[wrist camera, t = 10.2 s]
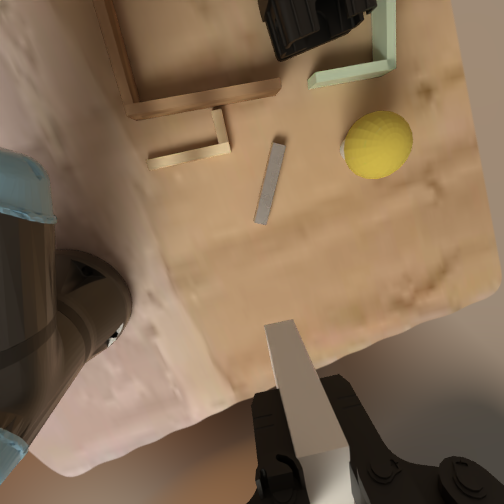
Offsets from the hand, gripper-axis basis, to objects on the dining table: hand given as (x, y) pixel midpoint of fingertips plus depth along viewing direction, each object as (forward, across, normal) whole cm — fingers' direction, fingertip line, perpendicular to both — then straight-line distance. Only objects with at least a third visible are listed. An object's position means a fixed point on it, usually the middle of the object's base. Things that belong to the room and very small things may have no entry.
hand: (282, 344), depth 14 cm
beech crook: (+25, -5, +12) cm, 28 cm away
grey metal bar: (+25, +4, +6) cm, 26 cm away
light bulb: (+25, +15, +8) cm, 30 cm away
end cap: (+25, +11, +23) cm, 36 cm away
